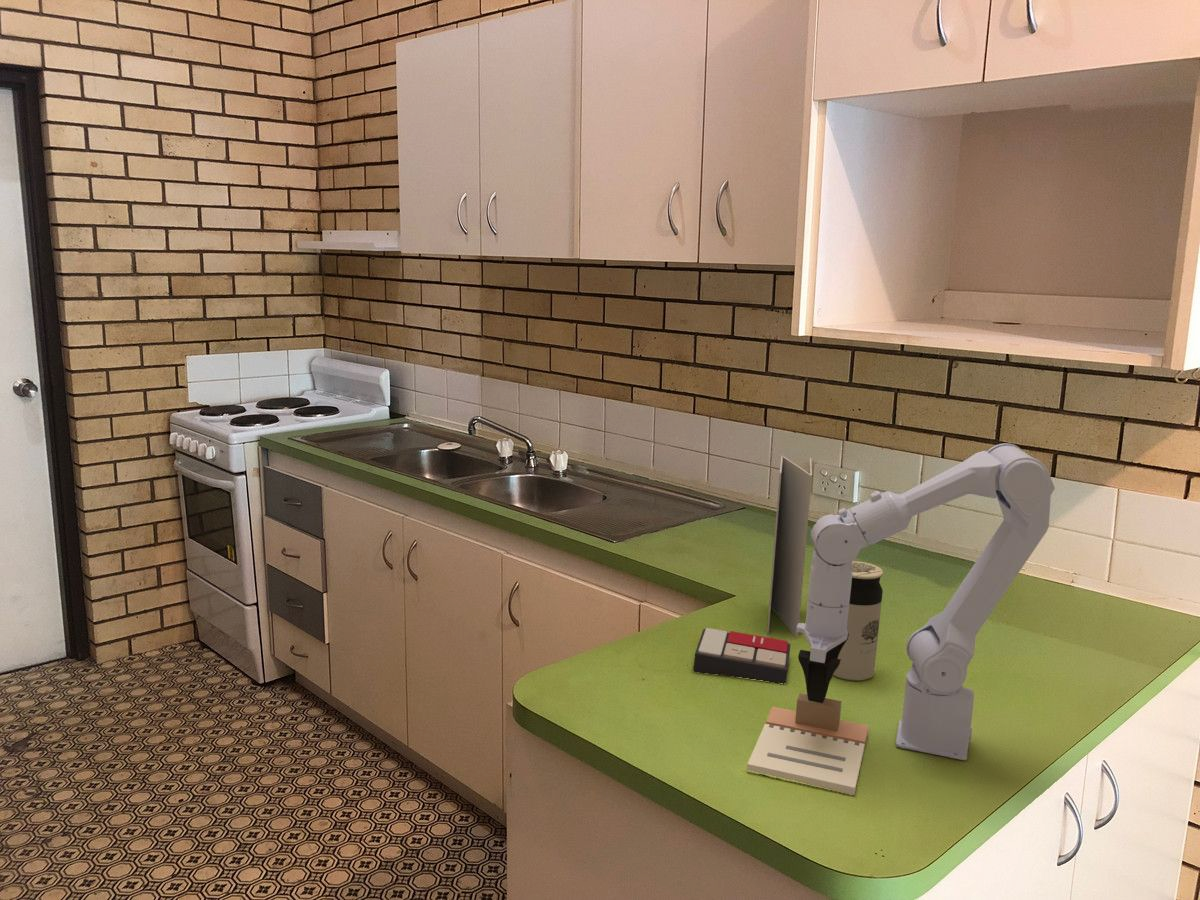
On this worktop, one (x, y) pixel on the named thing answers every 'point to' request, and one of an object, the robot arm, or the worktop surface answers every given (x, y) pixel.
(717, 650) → the calculator
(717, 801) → the worktop surface
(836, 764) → the cream notepad
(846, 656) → the travel mug
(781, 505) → the brochure
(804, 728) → the pink block with handle
